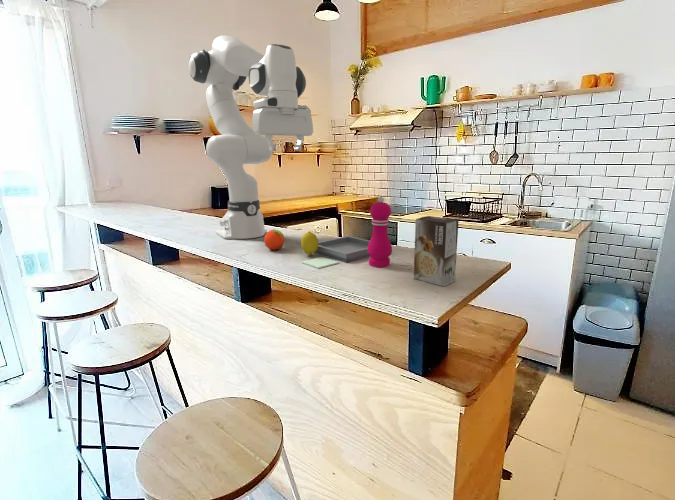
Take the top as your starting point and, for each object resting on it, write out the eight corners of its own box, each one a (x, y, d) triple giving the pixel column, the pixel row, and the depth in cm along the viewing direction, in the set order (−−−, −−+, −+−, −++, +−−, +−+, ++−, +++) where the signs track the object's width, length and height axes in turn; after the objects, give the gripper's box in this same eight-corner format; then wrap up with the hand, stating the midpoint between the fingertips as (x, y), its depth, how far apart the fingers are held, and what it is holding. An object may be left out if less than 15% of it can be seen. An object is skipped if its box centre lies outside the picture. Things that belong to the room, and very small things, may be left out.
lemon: (317, 257, 119) (317, 233, 117) (300, 257, 119) (299, 233, 117) (319, 253, 124) (318, 229, 122) (302, 253, 124) (301, 229, 122)
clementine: (291, 249, 129) (290, 229, 127) (274, 253, 124) (273, 232, 122) (276, 246, 134) (275, 226, 133) (260, 249, 130) (259, 229, 128)
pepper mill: (373, 259, 116) (374, 194, 111) (395, 263, 113) (397, 196, 108) (363, 265, 110) (363, 197, 105) (385, 269, 107) (387, 198, 102)
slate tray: (309, 251, 127) (309, 243, 126) (348, 243, 138) (348, 235, 137) (346, 262, 114) (346, 254, 113) (385, 252, 125) (385, 244, 124)
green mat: (301, 262, 114) (301, 261, 113) (322, 257, 119) (322, 256, 119) (318, 268, 108) (318, 267, 108) (339, 263, 113) (339, 262, 113)
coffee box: (456, 280, 97) (460, 219, 93) (443, 287, 92) (447, 222, 88) (425, 273, 103) (428, 215, 99) (411, 278, 99) (414, 218, 95)
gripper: (304, 107, 123) (306, 150, 126) (248, 102, 109) (251, 151, 113) (316, 104, 118) (318, 150, 121) (259, 99, 105) (262, 150, 108)
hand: (285, 150), depth 117 cm, fingers open, 8 cm apart
